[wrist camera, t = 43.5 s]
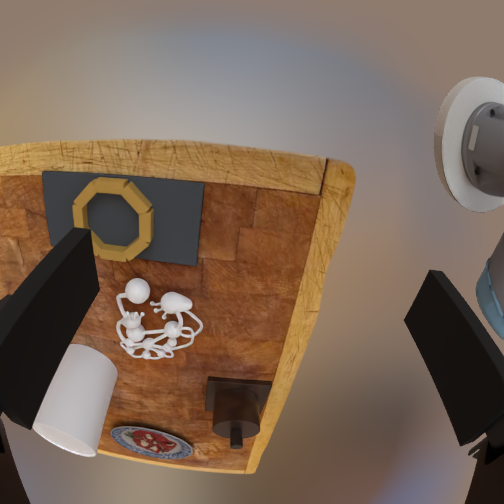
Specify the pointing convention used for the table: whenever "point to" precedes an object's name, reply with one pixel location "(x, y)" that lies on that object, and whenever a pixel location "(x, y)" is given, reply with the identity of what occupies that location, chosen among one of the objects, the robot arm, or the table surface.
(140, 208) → the ring
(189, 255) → the mat
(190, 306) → the tangled rod sculpture
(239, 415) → the stand
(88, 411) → the canister
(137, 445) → the ceramic plate
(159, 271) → the table surface
